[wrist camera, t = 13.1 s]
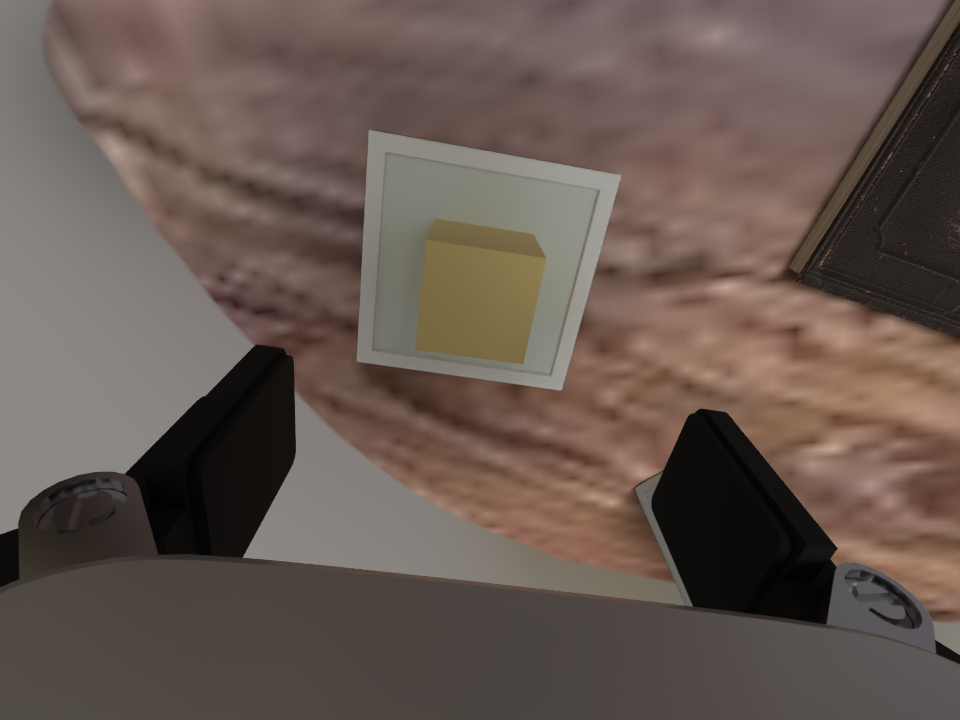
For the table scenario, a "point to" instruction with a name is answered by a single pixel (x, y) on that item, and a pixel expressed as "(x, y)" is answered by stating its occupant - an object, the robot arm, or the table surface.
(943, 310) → the hardcover book
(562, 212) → the mat
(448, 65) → the table surface
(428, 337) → the ochre cube
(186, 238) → the table surface
